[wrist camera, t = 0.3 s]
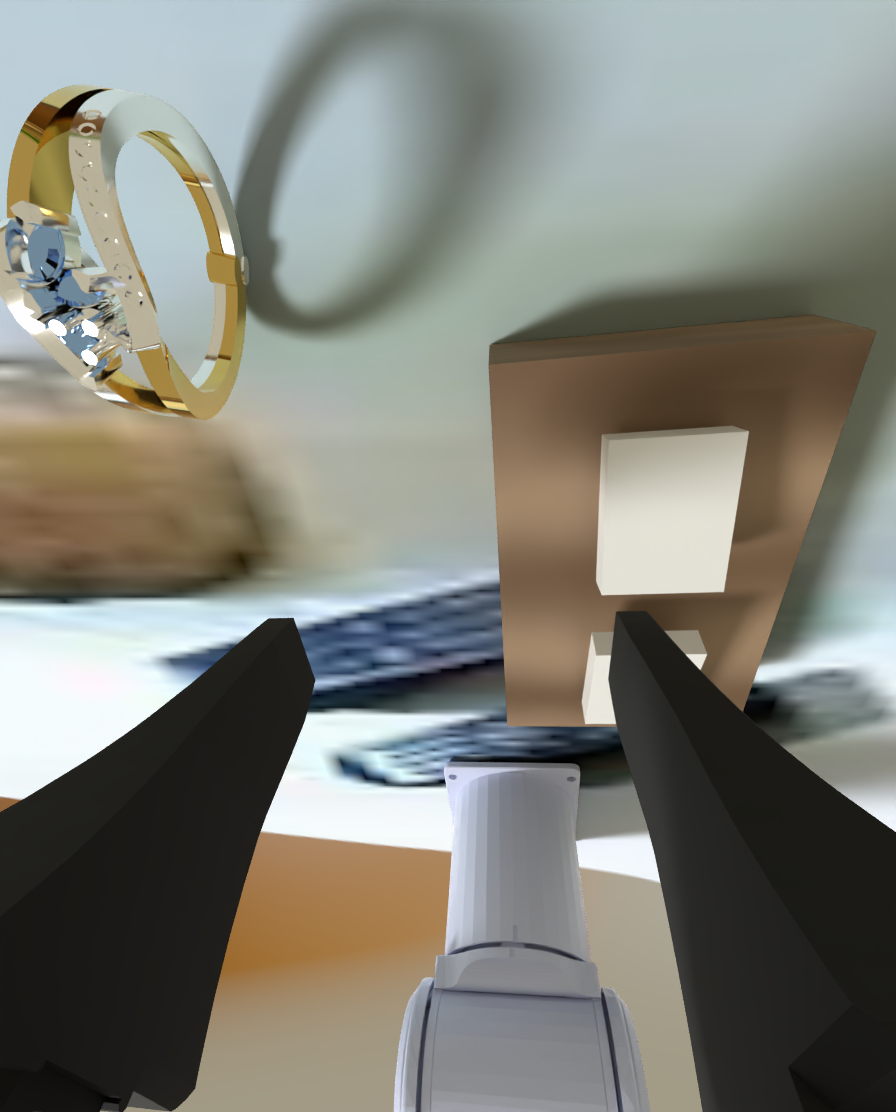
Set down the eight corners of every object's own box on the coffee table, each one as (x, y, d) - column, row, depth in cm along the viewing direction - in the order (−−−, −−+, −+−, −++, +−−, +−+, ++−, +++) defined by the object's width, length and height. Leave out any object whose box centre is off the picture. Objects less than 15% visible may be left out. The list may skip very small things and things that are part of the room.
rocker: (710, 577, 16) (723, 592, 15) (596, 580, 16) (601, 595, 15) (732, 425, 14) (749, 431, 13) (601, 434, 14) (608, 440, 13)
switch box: (718, 675, 24) (750, 739, 21) (506, 677, 25) (507, 737, 22) (823, 313, 15) (905, 333, 12) (490, 344, 16) (488, 369, 13)
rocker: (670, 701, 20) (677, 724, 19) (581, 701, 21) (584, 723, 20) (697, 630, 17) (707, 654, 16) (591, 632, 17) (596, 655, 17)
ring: (288, 386, 18) (163, 478, 11) (201, 370, 18) (21, 453, 11) (281, 137, 14) (79, 45, 7) (168, 115, 14) (-144, 2, 7)
